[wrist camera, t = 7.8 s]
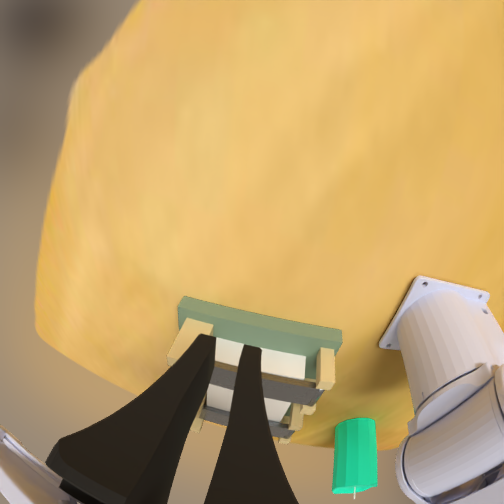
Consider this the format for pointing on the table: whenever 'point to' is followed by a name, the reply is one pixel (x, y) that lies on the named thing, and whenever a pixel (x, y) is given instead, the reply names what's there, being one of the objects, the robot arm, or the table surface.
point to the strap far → (223, 418)
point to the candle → (355, 456)
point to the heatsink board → (263, 330)
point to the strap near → (270, 385)
